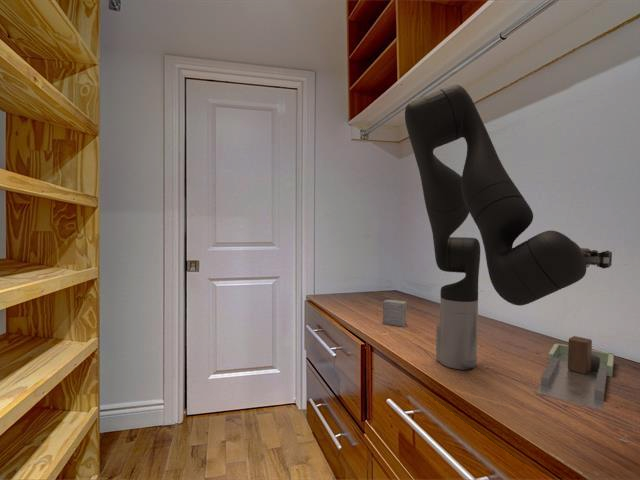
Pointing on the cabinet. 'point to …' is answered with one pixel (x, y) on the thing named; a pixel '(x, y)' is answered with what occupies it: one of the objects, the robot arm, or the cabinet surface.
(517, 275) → the robot arm
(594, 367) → the puck
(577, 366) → the wooden block
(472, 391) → the cabinet surface
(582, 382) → the slot board
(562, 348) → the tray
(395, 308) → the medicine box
